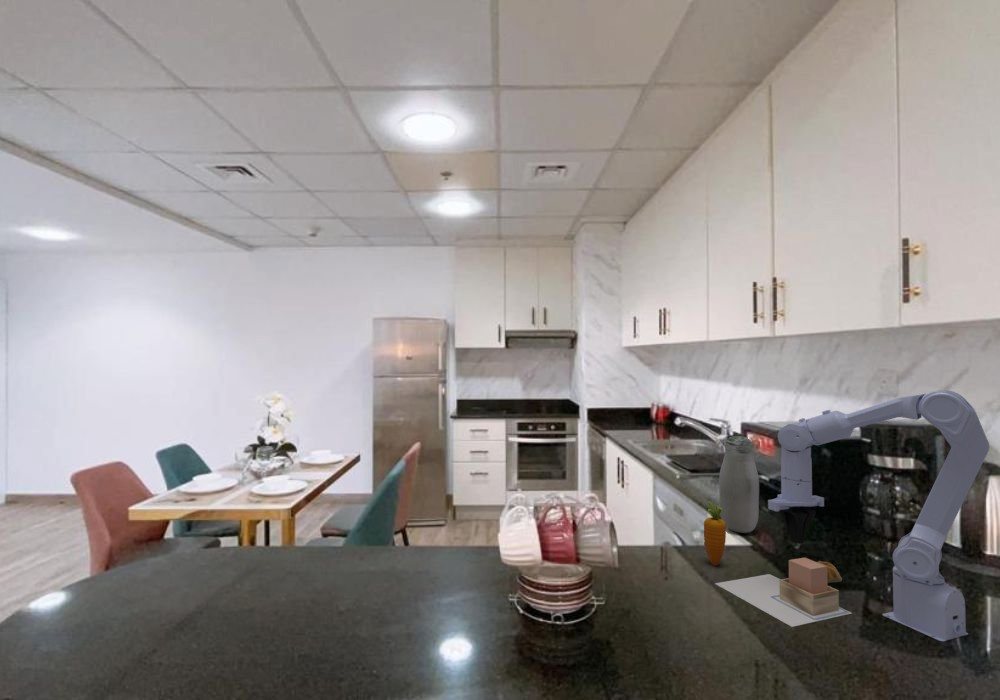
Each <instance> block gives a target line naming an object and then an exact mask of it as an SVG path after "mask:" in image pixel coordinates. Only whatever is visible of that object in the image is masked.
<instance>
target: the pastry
mask: <svg viewBox="0 0 1000 700" xmlns="http://www.w3.org/2000/svg"><path fill="white" fill-rule="evenodd" d="M816 562H817V563H820V564H822V565H825V566H827V584H832V583H840V582H842V580H843V578H842V576H841V575H840V572H839V571H838V570H837V568H836V567H835V565H833V564H832V563H831V562H828V561H821V560H818V561H816Z"/></svg>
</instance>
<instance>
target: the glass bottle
mask: <svg viewBox="0 0 1000 700" xmlns="http://www.w3.org/2000/svg"><path fill="white" fill-rule="evenodd" d="M754 449H755V448H754V445H753V442H752V441H751V439H749V438H748V437H745V436H742V435H734V436H730V437H729V438H727V440H726V442H725V446H724V454H723V461H722V464H721V466H720V470H719V475H718V476H719V479H718V485H719V486H718V487H719V490H718V491H719V507H720V508H722V511H721V513H720V515H719V516H720V519H721V520H723V521H724V522H725V523H726V529H727V528H728V530H730V531H733V532H735V533H742V534H748V533H751V532H752V531H754V530H755V529H756V527H757V525H758V522H759V516H760V515H759V513H760V511H759V510H760V509H759V505H760V504H759V503H760V502H759V501H760V497H759V496H760V481H759V480H760V478H759V474H758V470H757V465H756V461H755V454H754Z"/></svg>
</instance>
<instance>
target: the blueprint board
mask: <svg viewBox="0 0 1000 700" xmlns="http://www.w3.org/2000/svg"><path fill="white" fill-rule="evenodd" d="M780 580H781V578H778V577H776V576H774V575H772V574H770V573H767V574H762V575H761V574H760V575H756V576H751V577H746V578H745V577H744V578H740V579H739V578H738V579H733V580H727V581H721V582H715V583H714V584H715V585H716V586H718V587H720V588H721V589H723V590H725V591H727V592H729V593H731V594H733V595H734V596H736V597H738V598H739V599H742V600H743V601H744V602H747V603H748V604H750V605H752V606H754V607H755V608H757V609H759V610H761V611H763V612H764V613H767V614H768V615H770V616H771V617H773V618H775V619H777V620H779V621H781V622H782V623H784V624H786V625H788V626H790V627H791V628H793V627H797V626H798V627H799V626H802V625H807V624H812V623H815V622H816V623H817V622H820V621H824V620H828V619H834V618H837V617H842V616H846V615H850V614H852V612H851V611H850V610H849V611H848V610H846V609H844V608H843V607H840V606H839V610H838V611H834V612H829V613H825V614H820V615H816V616H812V615H810V614H808V613H806V612H804V611H802V610H800V609H799V608H797V607H795V606H793V605H791V604H789V603H787V602H785V601H783V600H781V599H780Z"/></svg>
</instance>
